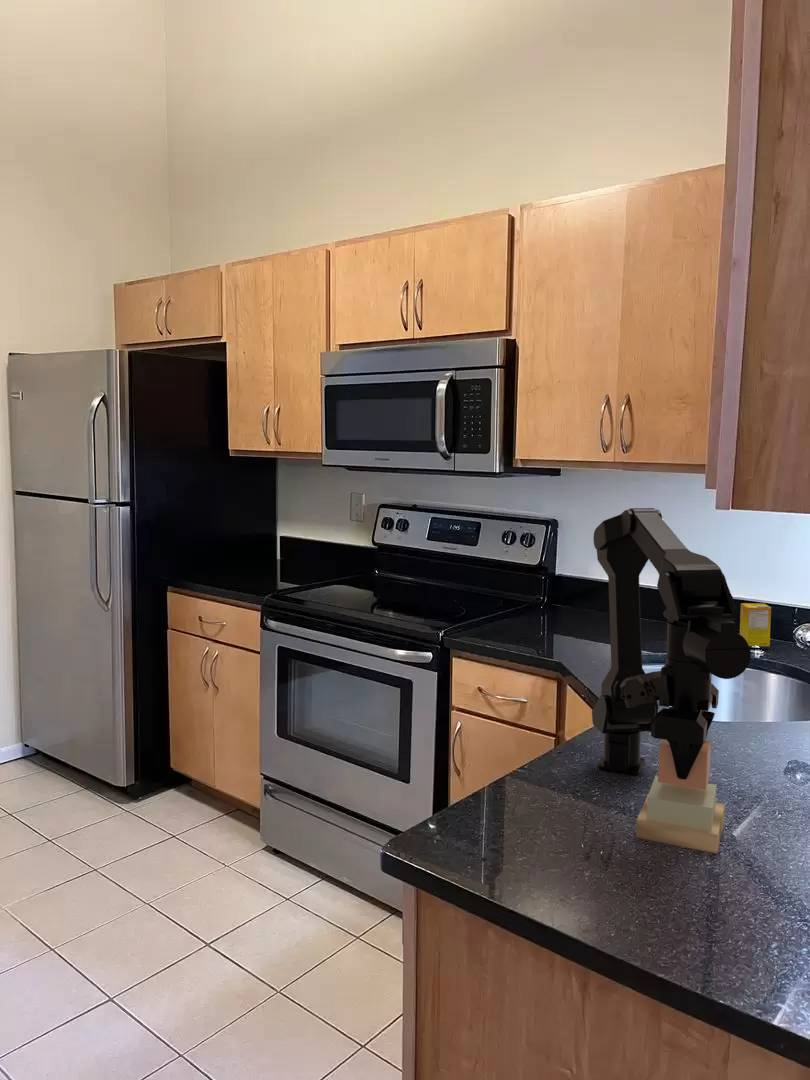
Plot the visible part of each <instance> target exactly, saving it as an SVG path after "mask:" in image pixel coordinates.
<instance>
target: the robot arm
mask: <svg viewBox="0 0 810 1080" xmlns="http://www.w3.org/2000/svg"><path fill="white" fill-rule="evenodd" d="M592 537H593V546H594V548H595V549H596V557H597V558H596V559H597V562H598V563H599V564H600V566H601V567H602V569H603V571H604V572H605V574H606V575H607V577H608V578H607V580H608V606H609V607H608V610H609V633H610V634H609V636H610V637H609V640H610V641H609V642H610V662H611V663H610V668H609V670H608V672H607V674H606V675H605V676H604V679H603V681H602V682H601V688H600V689H601V691H600V693H601V694H600V696H599V697H598V699H597V701H596V702H595V705H594V707H593V708H592V710H591V719H592V725H593V726H594V727H595V728H596V729H597V730H598V731H599V732H600V734H602V735H603V756H602V757H601V758H600V760H599V762H597V765H596V767H597V768H598V769H599V770H600V769H601V770H607V771H611V772H619V773H622V774H623V773H624V774H628V775H629V774H630V775H639V774H640V773H641V771H642V769H643V767H644V766H645V763H646V759H645V758H644V757H641V742H642V740H641V738H642V737H641V736H642V732H644V733H645V732H649V733H650V736H651V738H654V739H659V740H662V739H664V740H667V741H668V742H669V744H670V748H671V752H672V756H673V760H674V765H675V769H676V774H677V777H678V778H679V779H684V780H685V779H687V777H688V774H689V772H690V770H691V768H692V766H693V764H694V762H695V760H696V758H697V756H698V754H699V752H700V750H701V748H702V746H703V744H704V741H707V737H708V733H709V732H708V731H709V729H710V727H711V724H712V722H713V720H714V717H715V715H716V713H715V712H712V711H709V709H710V707H711V708H712V709H715V710H716V709H717V707H718V705H719V698H720V697H719V694H720V690H719V689H718V688H717V687H716V686H715V685H714V684H713V683H712V675H713V676H715V677H716V678H719V679H723V680H730V679H735V678H737V677H739V676H740V675H742V674H743V673H744V672H745V671H746V669H747V668H748V667H749V665H750V662H751V658H752V651H751V650H752V649H750V648H749V645H748V643H747V641H746V640H745V639H744V638H743V637H742V636H741V635H740V633H738V632H737V622H735V621H736V620H737V613H736V607H737V605H736V603H735V600H734V597H733V595H732V592H731V590H730V588H729V586H728V583H727V579H726V576H725V574H724V573H723V571H722V569H721V567H720V566H719V565H718V564H717V563H715V562H714V561H713V560H711V559H710V558H709V557H707V556H705V555H703V554H700V553H696V552H693V551H691V550H690V549H688V547H686V545H685V544H684V543H683V541H681V540H680V538H679V537H678V535H676V533H674V531H673V530H672V529H671V528H670V527H669V525H668V524H667V523H666V522H665V521H664V519H663V515H662V512H661V510H659V509H655V508H654V507H643V508H642V507H634V508H633V507H632V508H628V509H626V510H625V509H624V510H623V512H621V514H618V515H615V516H613V517H610V518H607V519H604V520H602V522H601V523H600V524H599V525H598V526H597V527H596V528H595V529H594V532H593V536H592ZM648 561H649V562H650V563H651V564H652V566H653V567H654V569H655V570H656V572H657V573H658V579H657V584H656V587H657V589H658V592H659V595H660V597H661V599H662V601H663V604H664V606H665V607H666V609H665V610H664V611H663V613H662V614H663V617H665V618H667V621H666V623H667V629H666V652H665V653H666V654H665V662H664V665H663V666H662V667H661V668H660V670H658V671H651V672H650V671H649V672H647V673H646V672H645V669H643V655H642V654H643V652H642V650H643V649H642V648H643V647H642V626H641V625H642V623H641V621H642V619H641V595H640V594H641V593H640V575H641V573H642V572H643V570H644V568H645V566H646V565H647V563H648ZM716 605H717V606H716ZM733 620H734V621H733ZM659 706H660V707H663V708H662V709H661V710H659ZM665 707H666V708H665Z"/></svg>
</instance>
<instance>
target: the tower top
mask: <svg viewBox="0 0 810 1080" xmlns="http://www.w3.org/2000/svg"><path fill="white" fill-rule="evenodd" d="M648 794H649V795H648ZM648 794H647V796H648V797H647V796H646V798H647V819H648V820H653V821H659V822H665V823H670V824H676V825H681V826H687V827H693V828H698V829H704V830H710V831H712V825H713V819H714V813H715V807H716V803H717V784H715V783H714V784H713V783H708V785H707V788H706V790H702V789H696V788H690V787H684V786H679V785H673V784H667V783H662V782H658V774H655V776H654V778H653V782H652V785H651V787H650V789H649V793H648Z"/></svg>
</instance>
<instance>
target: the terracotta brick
mask: <svg viewBox="0 0 810 1080" xmlns="http://www.w3.org/2000/svg"><path fill="white" fill-rule="evenodd" d="M711 751H712V741H708V740H705V741H704V744H703V746H702V748H701V750H700V752H699V754H698V756H697V758H696V760H695V762H694V764H693V766H692V768H691V770H690V772H689V774H688V777H687V779H685V780H684V779H679V778H678V777H677V774H676V769H675V765H674V760H673V756H672V752H671V748H670V744H669V742H668V741H667V740H664V739H661V741H660V742H659V745H658V767H657V768H658V769H657V770H658V771H657V776H658V782H662V783H667V784H673V785H679V786H684V787H690V788H696V789H702V790H706V788H707V785H708V784H709V781H710V777H711V757H712V755H711V754H712V752H711Z"/></svg>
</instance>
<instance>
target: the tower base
mask: <svg viewBox="0 0 810 1080" xmlns="http://www.w3.org/2000/svg"><path fill="white" fill-rule="evenodd" d="M648 795H649V793H648V794H647V796H646V799H645V801H644V803H643V805H642V807H641V810H640V811H639V814H638V816H637V818H636V827H635V828H636V830H635V831H636V833H635V835H636V836H635V838H639V839H642V840H643V839H644V840H649V841H653V842H657V843H658V842H659V843H662V844H663V843H664V844H669V845H673V846H677V847H683V848H688V849H691V850H697V851H703V852H708V853H713V854H718V851H719V847H720V841H721V837H722V833H723V830H724V829H723V828H724V824H725V813H726V811H725V810H726V804H725V803H721V802H720V803H719V802H716V807H715V813H714V819H713V825H712V831H710V830H704V829H698V828H693V827H687V826H681V825H676V824H670V823H665V822H659V821H653V820H648V819H647V797H648Z"/></svg>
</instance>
